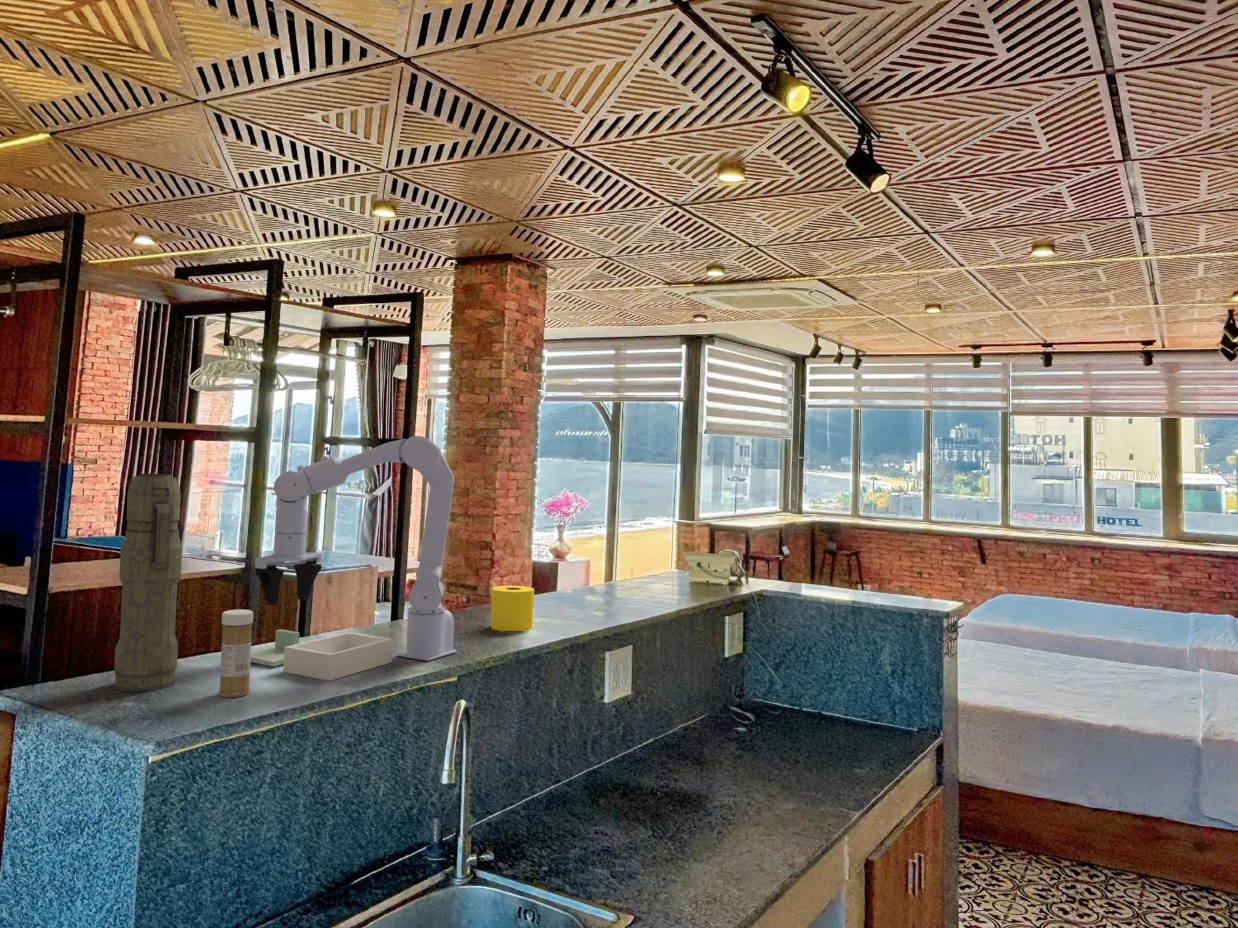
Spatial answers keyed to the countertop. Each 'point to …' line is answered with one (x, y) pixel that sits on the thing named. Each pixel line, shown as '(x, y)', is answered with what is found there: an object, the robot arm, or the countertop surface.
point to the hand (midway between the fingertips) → (287, 602)
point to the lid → (276, 648)
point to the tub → (337, 655)
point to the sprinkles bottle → (235, 653)
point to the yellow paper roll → (512, 608)
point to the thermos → (149, 585)
